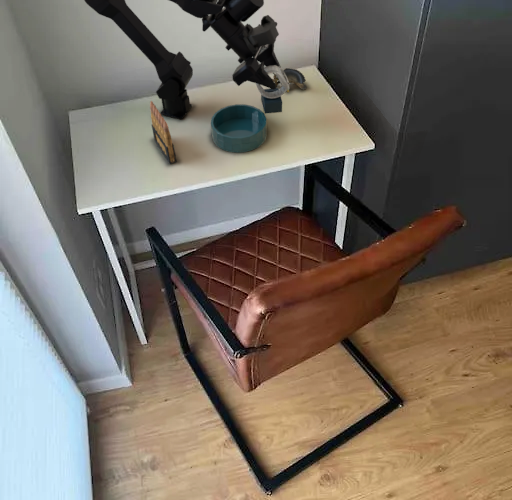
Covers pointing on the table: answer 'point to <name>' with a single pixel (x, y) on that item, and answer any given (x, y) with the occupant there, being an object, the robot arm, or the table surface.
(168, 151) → the ammunition clip
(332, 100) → the table surface
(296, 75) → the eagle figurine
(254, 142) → the bowl
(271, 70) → the watch
